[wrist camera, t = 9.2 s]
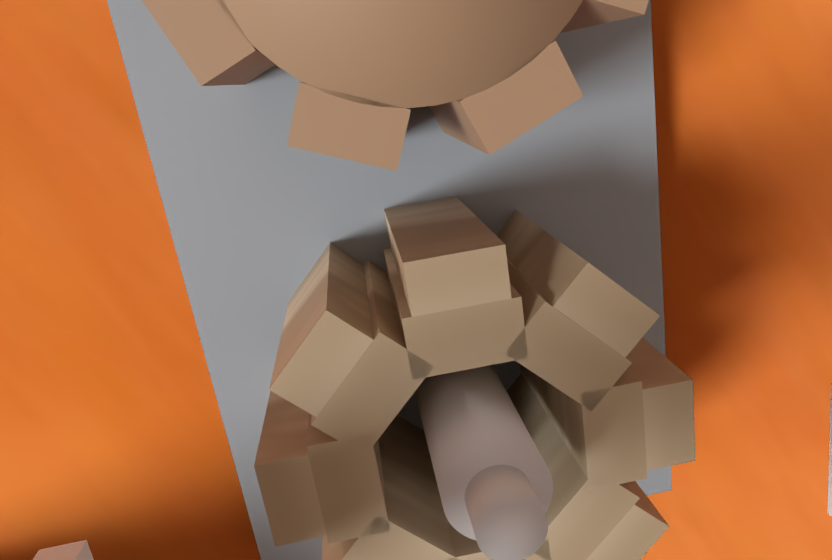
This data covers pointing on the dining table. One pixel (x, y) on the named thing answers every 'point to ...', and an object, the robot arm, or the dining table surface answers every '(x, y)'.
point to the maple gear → (455, 351)
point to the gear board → (394, 189)
